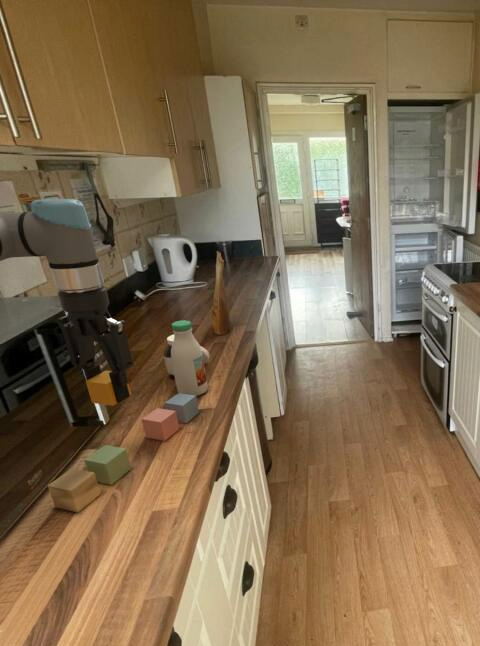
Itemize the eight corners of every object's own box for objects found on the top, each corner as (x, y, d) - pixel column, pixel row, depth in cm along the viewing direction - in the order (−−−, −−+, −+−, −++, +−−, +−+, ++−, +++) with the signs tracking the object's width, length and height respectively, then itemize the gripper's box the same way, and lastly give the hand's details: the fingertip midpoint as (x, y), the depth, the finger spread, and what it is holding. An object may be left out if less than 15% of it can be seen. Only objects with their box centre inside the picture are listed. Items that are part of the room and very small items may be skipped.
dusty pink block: (145, 437, 97) (141, 419, 95) (161, 425, 102) (157, 407, 100) (164, 441, 96) (160, 422, 94) (179, 429, 101) (175, 410, 99)
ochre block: (91, 402, 87) (85, 381, 85) (111, 391, 91) (105, 370, 89) (112, 406, 86) (106, 384, 84) (131, 394, 90) (126, 373, 88)
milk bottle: (190, 400, 113) (177, 330, 105) (171, 393, 117) (158, 324, 109) (214, 388, 119) (203, 321, 111) (195, 382, 123) (184, 316, 115)
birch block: (55, 507, 77) (47, 485, 75) (79, 488, 82) (72, 467, 80) (78, 512, 76) (70, 490, 74) (101, 493, 81) (94, 472, 79)
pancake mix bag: (234, 319, 173) (225, 249, 162) (232, 336, 156) (222, 259, 145) (216, 320, 171) (206, 249, 160) (212, 337, 154) (201, 260, 143)
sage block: (90, 480, 84) (83, 459, 82) (110, 464, 89) (105, 444, 87) (111, 484, 83) (105, 464, 81) (131, 468, 88) (125, 448, 86)
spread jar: (167, 381, 123) (159, 344, 118) (169, 365, 132) (162, 330, 128) (211, 375, 127) (206, 338, 122) (210, 360, 136) (205, 326, 132)
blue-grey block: (168, 420, 104) (164, 402, 102) (181, 410, 109) (178, 392, 107) (186, 423, 103) (182, 405, 101) (199, 412, 108) (196, 395, 106)
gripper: (138, 286, 80) (162, 394, 90) (59, 279, 84) (90, 384, 93) (106, 296, 74) (135, 412, 83) (22, 289, 77) (59, 400, 87)
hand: (111, 397), depth 88 cm, fingers closed on ochre block, 5 cm apart
